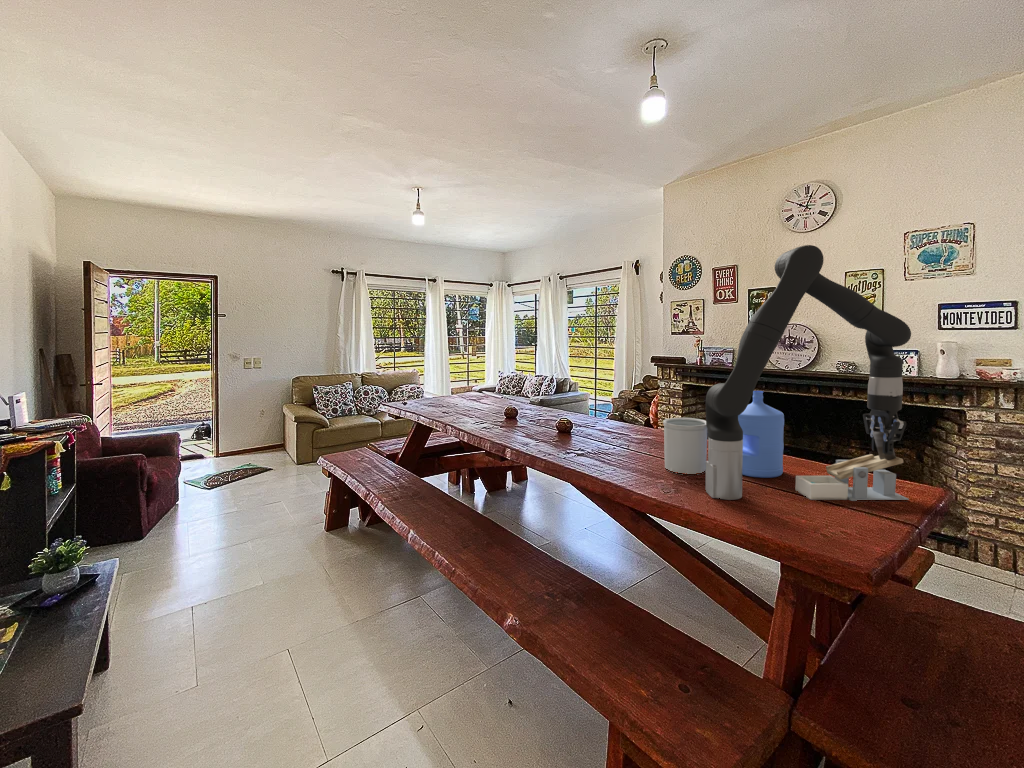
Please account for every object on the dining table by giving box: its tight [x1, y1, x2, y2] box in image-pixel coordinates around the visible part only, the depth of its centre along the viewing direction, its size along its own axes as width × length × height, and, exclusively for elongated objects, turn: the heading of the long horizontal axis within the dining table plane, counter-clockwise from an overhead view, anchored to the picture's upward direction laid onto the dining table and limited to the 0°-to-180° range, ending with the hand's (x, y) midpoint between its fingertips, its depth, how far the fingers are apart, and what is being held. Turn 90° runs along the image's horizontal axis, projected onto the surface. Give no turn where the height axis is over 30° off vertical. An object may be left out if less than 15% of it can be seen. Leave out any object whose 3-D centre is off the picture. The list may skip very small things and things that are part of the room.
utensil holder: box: [662, 417, 708, 474], centre depth 157 cm, size 15×15×18 cm
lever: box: [825, 430, 904, 480], centre depth 126 cm, size 17×6×9 cm, turn 83°
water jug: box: [738, 390, 785, 479], centre depth 151 cm, size 16×16×28 cm
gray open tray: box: [795, 475, 849, 501], centre depth 128 cm, size 10×8×4 cm
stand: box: [834, 459, 910, 502], centre depth 127 cm, size 15×10×9 cm, turn 84°
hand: (882, 452), depth 126 cm, fingers closed on lever, 3 cm apart
